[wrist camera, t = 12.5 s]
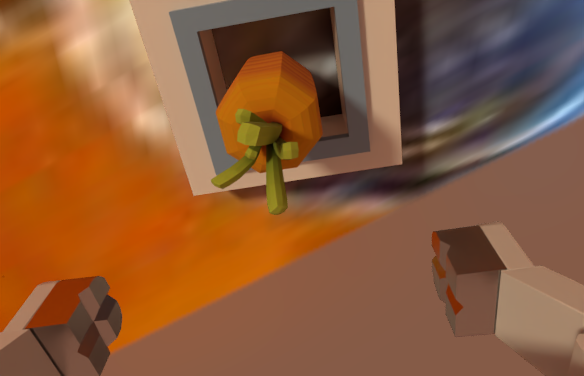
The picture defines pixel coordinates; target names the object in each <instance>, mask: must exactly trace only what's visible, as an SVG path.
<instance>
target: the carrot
mask: <svg viewBox="0 0 584 376" xmlns="http://www.w3.org/2000/svg"><path fill="white" fill-rule="evenodd" d="M216 116H217V120H218V123H219V127H220V130H221V134H222V138H223V141H224V145H225V149H226V152H227V154H229V155H231V156H232V157H234V158H236V159H237V160H239V161H238V162H236V163H235V164H234V165H232V166H231V167H230V168H228V169H227V170H225V171H223V172H222V173H220V174H219V175H217V176H216V177H214V178H213V179H211V182H212V184H213V185H214V186H216V187H218V188H221V189H224V188H226V187H228V186H230V185H231V184H233V183H234V182H236V181H237V180H239V179H240V178H241V177H242V176H243V175H244V174H245V173H246V172H247V171H248V170H249V169H250V168H252V169H254V170H255V171H257V172H259V173H265V172H266V194H267V204H268V209H269V213H271V214H274V215H277V214H281V213H283V212H284V211H285V210H286V209H287V208H288V206H287V196H286V190H285V183H284V177H283V169H290V168H296V167H298V166H299V165H300V163H301V162H302V161H303V160H304V158H305V157H306V156H307V155H308V153H309V152H310V151H311V149H312V148H313V147H314V146H315V144H316V143H317V142H318V141H319V139H320V138H321V137H322V135H323V130H322V124H321V117H320V111H319V104H318V98H317V92H316V88H315V84H314V80H313V78H312V75H311V73H310V72H309V71H308V70H307V69H306V68H305V67H303V66H302V65H301V64H299V63H298V62H296V61H295V60H294V59H292V58H291V57H289V56H288V55H287V54H285V53H284V52H282V51H279V52H273V53H268V54H262V55H257V56H253V57H251V58H249V59H248V60H247V61H246V62H245V64H244V65H243V67H242V69H241V70H240V72H239V73H238V75H237V76H236V78H235V80H234V81H233V83H232V84H231V86H230V87H229V89H228V91H227V92H226V94H225V95H224V97H223V99H222V100H221V102H220V104H219V106H218V108H217V109H216Z"/></svg>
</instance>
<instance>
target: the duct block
mask: <svg viewBox="0 0 584 376" xmlns="http://www.w3.org/2000/svg"><path fill="white" fill-rule="evenodd" d="M130 3H131V6H132V10H133V13H134V16H135V19H136V22H137V25H138V28H139V31H140V34H141V37H142V40H143V43H144V46H145V49H146V52H147V55H148V58H149V61H150V64H151V67H152V70H153V73H154V76H155V79H156V82H157V86H158V89H159V92H160V95H161V98H162V101H163V104H164V107H165V110H166V113H167V116H168V119H169V122H170V125H171V128H172V131H173V134H174V137H175V140H176V143H177V146H178V149H179V152H180V155H181V158H182V161H183V165H184V168H185V171H186V174H187V177H188V180H189V183H190V186H191V189H192V192H193V195H194V196H195V195H201V194H208V193H215V192H221V191H228V190H234V189H241V188H248V187H254V186H261V185H266V172H265V173H259V172H257V171H255V170H254V169H252V168H250V169H249V170H248V171H247V172H246V173H245V174H244V175H243V176H242V177H241V178H240V179H239V180H237V181H236V182H234V183H233V184H231V185H230V186H228V187H226V188H224V189H221V188H218V187H216V186H214V185H213V184H212V182H211V179H213V178H214V177H216V176H217V175H219V174H220V173H222V172H223V171H225V170H227V169H228V168H230V167H231V166H232V165H234V164H235V163H236V162H238V161H239V160H237V159H236V158H234V157H232V156H231V155H229V154H227V152H226V149H225V145H224V141H223V138H222V134H221V130H220V127H219V123H218V120H217V116H216V109H217V108H218V106H219V104H220V102H221V100H222V99H223V97H224V95H225V94H226V92H227V89H226V85H225V81H224V77H223V73H222V69H221V65H220V61H219V57H218V53H217V49H216V45H215V41H214V37H213V33H212V29H214V28H220V27H225V26H231V25H236V24H242V23H247V22H253V21H258V20H264V19H269V18H275V17H280V16H285V15H291V14H296V13H302V12H307V11H313V10H318V9H324V8H329V7H330V15H331V23H332V32H333V40H334V49H335V57H336V66H337V74H338V83H339V91H340V100H341V108H342V114H338V115H332V116H326V117H321V124H322V130H323V135H322V137H321V138H320V139H319V141H318V142H317V143H316V144H315V146H314V147H313V148H312V149H311V151H310V152H309V153H308V155H307V156H306V157H305V158H304V160H303V161H302V162H301V163H300V165H299V166H298V167H296V168H290V169H283V177H284V182H287V181H294V180H301V179H307V178H314V177H321V176H327V175H334V174H341V173H347V172H354V171H360V170H367V169H374V168H380V167H387V166H394V165H400V164H402V147H401V126H400V105H399V85H398V64H397V44H396V23H395V2H394V0H130Z"/></svg>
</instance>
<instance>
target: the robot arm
mask: <svg viewBox="0 0 584 376" xmlns="http://www.w3.org/2000/svg"><path fill="white" fill-rule="evenodd" d="M432 247H433V249H434V252H435V254H436V256H435V257H434V258H433V260H432V272H433V277H434V284H435V287H436V291H437V293H438V296H439V298H440V300H442V301H443V302H445V303H446V316H447V318H448V321H449V323H450V325H451V328H452V330H453V333H454V335H455V337H462V336H473V335H485V334H495V336H496V337H497V338H499V339H500V340H501V341H503V342H504V343H505V344H506V345H508V346H509V347H510V348H511V349H513V350H514V351H515V352H516V353H518V354H519V355H520V356H521V357H523V358H524V359H525V360H527V361H528V362H529V363H530V364H531V365H533V366H534V367H535V368H536V369H538V370H539V371H540V372H541V373H543V374H544V375H545V376H584V285H583V284H580V283H578V282H576V281H573V280H572V279H570V278H567V277H565V276H563V275H561V274H559V273H557V272H555V271H552V270H550V269H548V268H546V267H544V266H534V264H533V263H532V262H531V260H530V259H529V258H528V257H527V255H526V254H525V252H524V251H523V250H522V248H521V247H520V246H519V244H518V243H517V242H516V240H515V239H514V238H513V236H512V235H511V234H510V233H509V231H508V230H507V228H506V227H505V226H504V224H503V223H501V222H499V221H497V222H491V223H484V224H479V225H476V226H469V227H462V228H456V229H448V230H440V231H433V233H432ZM109 289H110V287H109V285H108V283H107V282H106V280H105V278H103V277H100V276H94V277H85V278H76V279H67V280H62V281H51V282H44V283H42V284H40V285H38V286H37V287H36V288H35V290H34V291H33V292H32V294H31V295H30V296H29V298H28V299H27V300H26V302H25V303H24V304H23V306H22V307H21V308H20V310H19V311H18V312H17V314H16V315H15V316H14V318H13V319H12V320H11V322H10V323H9V324H8V325H7V327H6V328H5V329H4V331H3V332H1V333H0V376H100V375H101V373H102V370H103V368H104V366H105V364H106V362H107V359H108V357H109V355H110V351H109V348H108V346H109V345H110V344H111V343H112V342H113V341H114V340H115V339H116V338H117V337H118V334H119V332H120V330H121V323H122V314H121V309H120V306H119V304H118V302H117V301H116V300H115V299H113V298H112V297H110V296H109V295H108V292H109Z"/></svg>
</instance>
